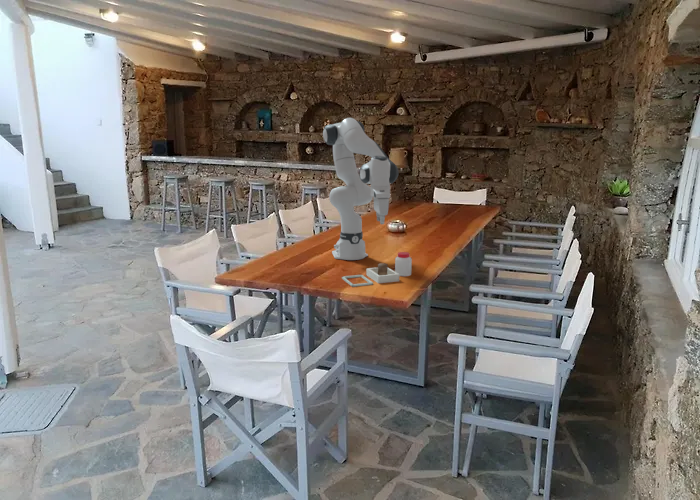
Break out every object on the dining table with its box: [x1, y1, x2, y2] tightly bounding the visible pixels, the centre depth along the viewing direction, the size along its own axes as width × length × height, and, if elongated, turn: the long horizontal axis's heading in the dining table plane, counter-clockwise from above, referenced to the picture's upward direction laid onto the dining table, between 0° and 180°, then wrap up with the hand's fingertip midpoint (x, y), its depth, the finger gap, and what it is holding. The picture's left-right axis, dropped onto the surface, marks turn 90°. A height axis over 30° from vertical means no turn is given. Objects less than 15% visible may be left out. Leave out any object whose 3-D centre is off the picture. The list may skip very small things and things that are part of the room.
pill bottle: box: [394, 251, 413, 277], centre depth 254 cm, size 8×8×11 cm
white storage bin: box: [365, 266, 400, 284], centre depth 248 cm, size 14×10×4 cm
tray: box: [341, 274, 374, 288], centre depth 244 cm, size 14×10×2 cm
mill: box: [377, 262, 388, 275], centre depth 248 cm, size 4×4×6 cm
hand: (380, 222), depth 245 cm, fingers open, 8 cm apart
